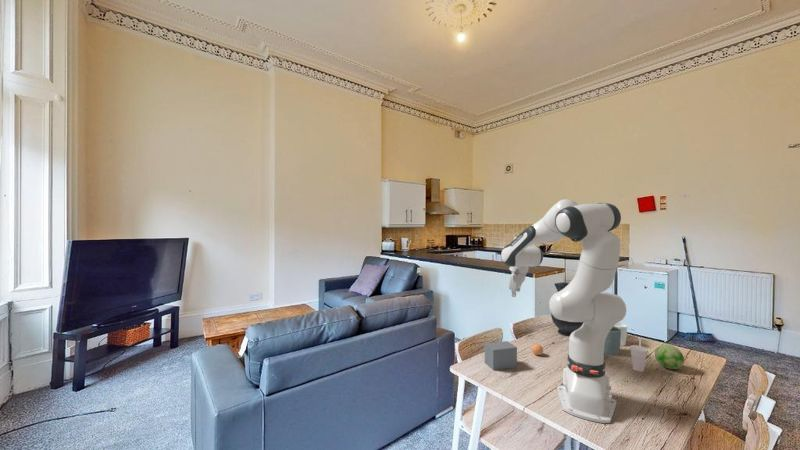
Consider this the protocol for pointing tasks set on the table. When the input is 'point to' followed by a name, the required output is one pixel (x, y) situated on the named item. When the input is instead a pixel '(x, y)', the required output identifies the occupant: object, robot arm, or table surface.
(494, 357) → the gray rectangular block
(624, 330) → the white cup
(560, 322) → the pitcher
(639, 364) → the smoothie
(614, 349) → the drinking glass
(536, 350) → the ball
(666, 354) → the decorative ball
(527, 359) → the table surface
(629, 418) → the table surface
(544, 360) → the table surface
